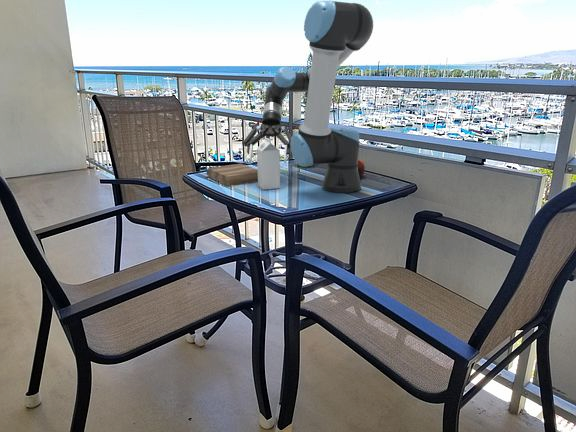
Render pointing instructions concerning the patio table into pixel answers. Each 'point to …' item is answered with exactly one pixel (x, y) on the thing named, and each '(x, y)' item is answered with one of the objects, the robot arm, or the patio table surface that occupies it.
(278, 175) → the milk carton
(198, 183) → the patio table surface
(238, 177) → the brown flat block
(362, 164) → the fruit
